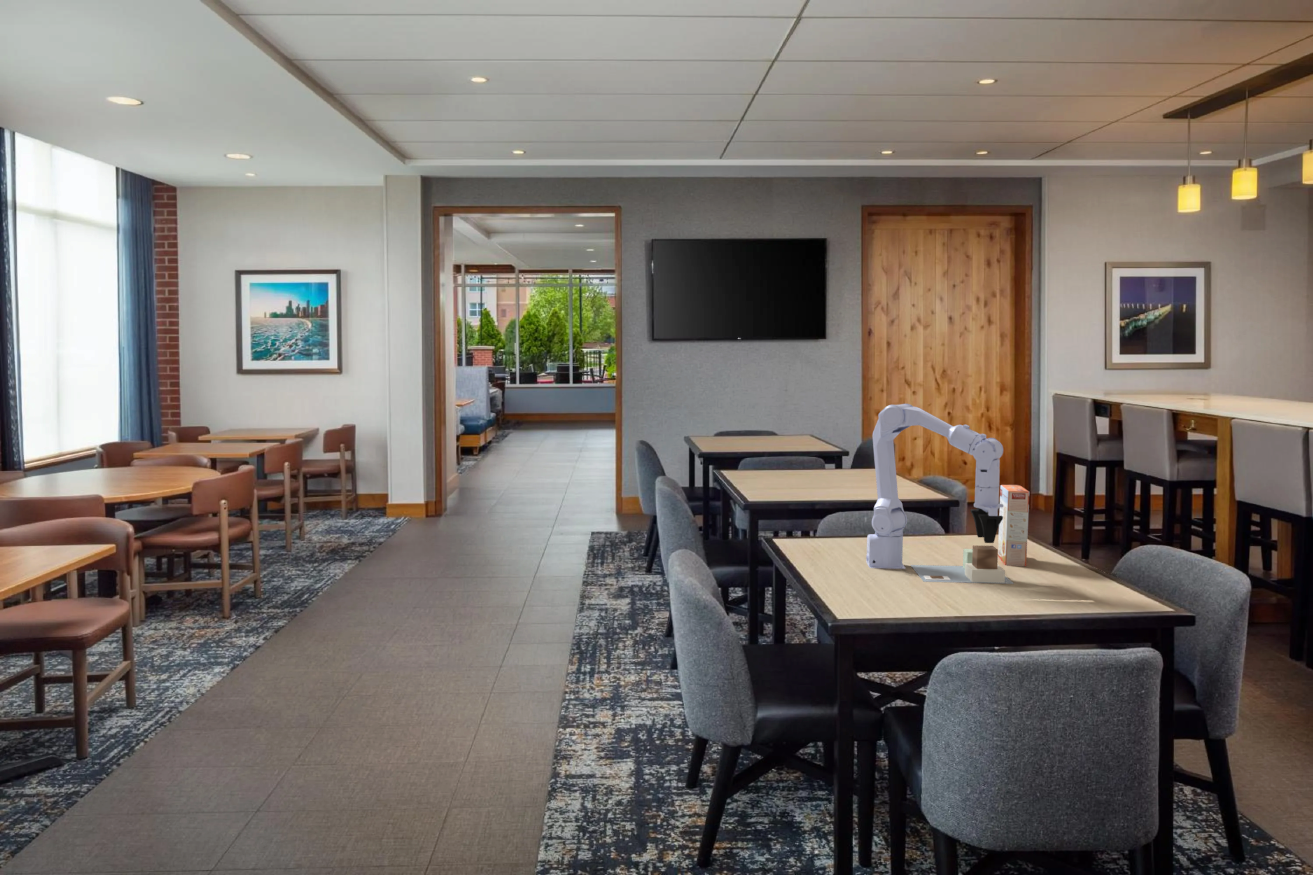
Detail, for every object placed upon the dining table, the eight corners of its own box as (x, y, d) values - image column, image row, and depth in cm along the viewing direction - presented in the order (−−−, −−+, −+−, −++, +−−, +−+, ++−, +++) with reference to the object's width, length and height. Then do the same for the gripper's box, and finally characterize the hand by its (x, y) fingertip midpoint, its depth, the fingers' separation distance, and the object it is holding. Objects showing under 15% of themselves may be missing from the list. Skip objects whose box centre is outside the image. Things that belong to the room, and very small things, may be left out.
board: (923, 583, 246) (923, 579, 246) (910, 566, 266) (910, 563, 266) (1013, 585, 244) (1014, 581, 244) (994, 568, 263) (994, 565, 263)
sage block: (967, 571, 258) (967, 552, 257) (962, 567, 263) (963, 548, 262) (986, 571, 257) (987, 552, 257) (982, 567, 262) (982, 549, 262)
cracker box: (1027, 568, 264) (1030, 490, 263) (1004, 567, 266) (1006, 490, 264) (1019, 557, 278) (1021, 484, 276) (997, 556, 279) (999, 483, 278)
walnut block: (976, 568, 247) (977, 549, 246) (972, 564, 252) (972, 545, 251) (997, 569, 246) (997, 549, 246) (992, 565, 251) (992, 545, 251)
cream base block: (971, 581, 246) (972, 569, 245) (964, 574, 253) (965, 563, 253) (1004, 582, 245) (1005, 570, 245) (996, 575, 253) (997, 563, 252)
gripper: (1010, 490, 240) (1009, 545, 241) (996, 483, 254) (994, 535, 255) (981, 490, 240) (979, 545, 241) (968, 482, 255) (966, 534, 256)
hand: (985, 539), depth 248 cm, fingers open, 7 cm apart
